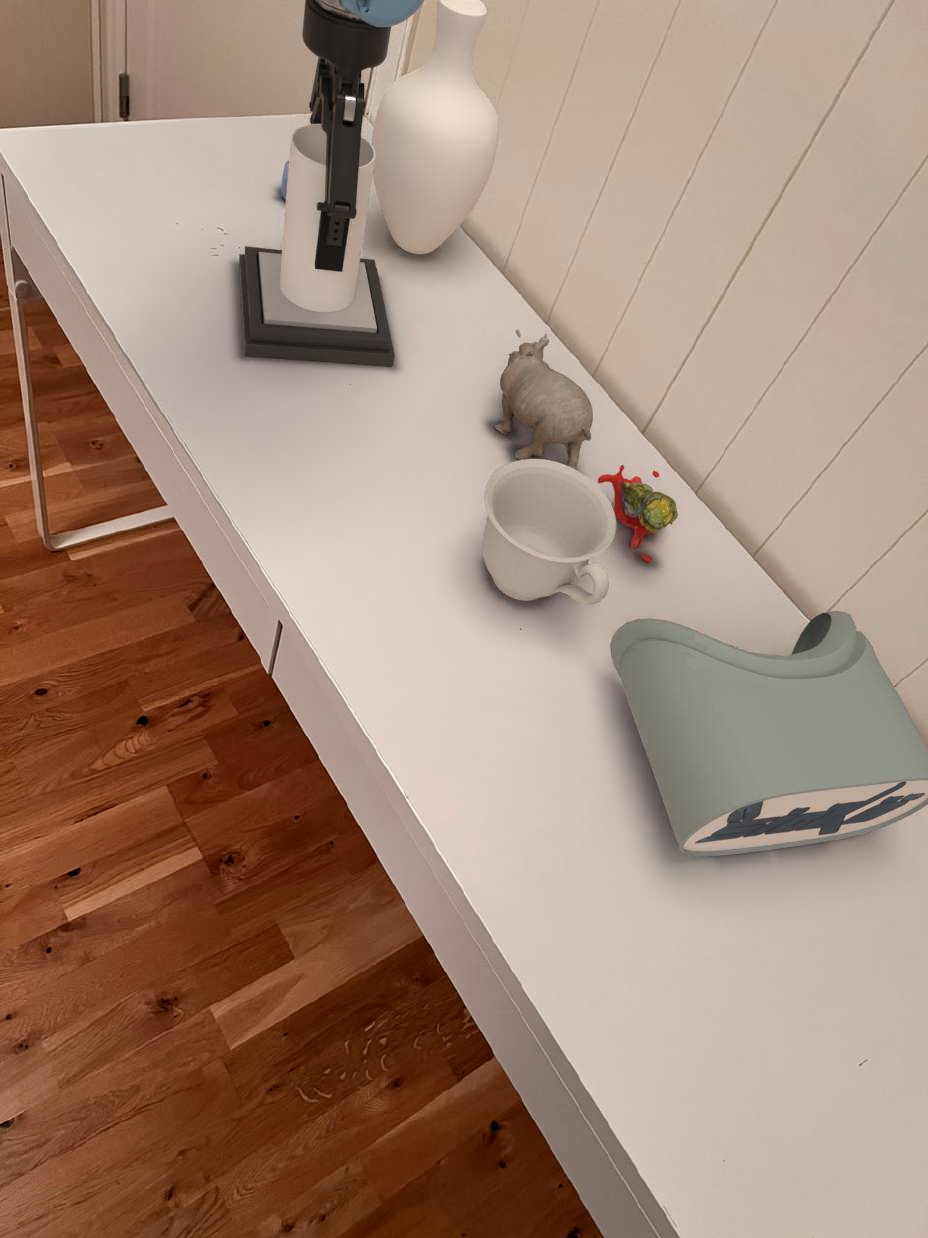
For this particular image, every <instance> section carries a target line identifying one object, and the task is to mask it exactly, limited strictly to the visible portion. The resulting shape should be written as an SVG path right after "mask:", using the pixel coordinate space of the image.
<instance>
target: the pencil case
mask: <svg viewBox="0 0 928 1238" xmlns="http://www.w3.org/2000/svg"><path fill="white" fill-rule="evenodd" d="M609 650H610V656H611V657H610V658H611V660H612V664H613V666H614V668H615V670H616V672H617V674H618V676H619V677H620V679H621V683H622V687H623V690H624V693H625V696H626V700H627V703H628V705H629V708H630V711H631V715H632V717H633V721H634V723H635V726H636V729H637V732H638V734H639V737H640V739H641V743H642V746H643V748H644V751H645V754H646V757H647V760H648V762H649V765H650V768H651V770H652V773H653V777H654V780H655V781H656V784H657V788H658V791H659V793H660V796H661V799H662V802H663V806H664V808H665V811H666V814H667V818H668V820H669V824H670V826H671V829H672V832H673V834H674V837H675V840H676V844H677V846H678V849H679V851H680V852H681V853H682V854H683V855H686V856H691V857H717V856H728V855H729V856H730V855H737V854H738V855H739V854H746V853H755V852H756V853H757V852H763V851H771V850H779V849H780V850H781V849H787V848H793V847H800V846H806V845H807V846H808V845H813V844H818V843H825V842H831V841H836V840H841V839H847V838H851V837H856V836H860V835H863V834H867V833H870V832H873V831H877V830H880V829H882V828H885V827H889V826H890V825H893V824H895V823H897V822H899V821H902V820H904V819H906V818H908V817H910V816H911V815H913V814H915V813H917V812H918V811H921V810H922V809H923V808H925V807H927V805H928V746H927V744H926V742H925V740H924V738H923V736H922V735H921V732H920V731H919V729H918V727H917V725H916V723H915V721H914V720H913V718H912V717H911V714H910V713H909V711H908V709H907V707H906V705H905V704H904V702H903V700H902V698H901V696H900V694H899V693H898V691H897V689H896V687H895V686H894V683H893V682H892V681H891V680H890V678H889V676H888V675H887V672H886V671H885V669H884V668H883V666H882V664H881V663H880V661H879V659H878V657H877V655H876V654H877V653H876V651H875V648H874V647H873V644H872V643H871V642H870V640H869V638H868V637H867V636H866V635H865V634H864V633H863V631H860V630H857V626H856V623H855V621H854V619H853V617H852V614H851V613H848V612H846V611H840V610H832V611H827V612H821V613H820V614H817V615H816V616H814V617H813V618H812V619H810V621H809V622H808V623H807V624H806V626H805V627H804V629H803V630H802V631H801V633H800V635H799V637H798V638H797V641H796V642H795V645H794V647H793V649H792V652H791V654H790V655H775V654H766V653H765V654H764V653H757V652H751V651H748V650H744V649H741V648H739V647H735V646H733V645H731V644H728V643H726V642H724V641H721V640H718V639H717V638H714V637H712V636H709V635H707V634H705V633H702V632H701V631H698V630H696V629H693V628H691V627H689V626H685V625H683V624H680V623H676V622H673V621H670V620H665V619H659V618H636V619H633V620H630V621H626V623H624V624H623V625H622V626H621V625H620V626H619V628H618V629H617V630H616V631H615V633H614V634H613V636H612V638H611V641H610V649H609Z"/></svg>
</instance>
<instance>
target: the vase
mask: <svg viewBox="0 0 928 1238" xmlns="http://www.w3.org/2000/svg"><path fill="white" fill-rule="evenodd" d="M436 4H437V5H436V31H435V39H434V43H433V48H432V51H431V53H430V56H429V57H428V59H427V61H426V62H425V63H424V64H423V65H422V66H420V67H419V68H417V69H415V70H413V71H411V72H408V73H406V74H404V75H402V76H400V77H398V78H397V79H395V80H393V81H392V82H391V83H390V84H389V86H388V87H387V88H386V90H385V91H384V92H383V94H382V97H381V99H380V101H379V104H378V108H377V110H376V114H375V119H374V125H373V129H372V137H371V145H372V146H373V148H374V150H375V154H376V157H375V165H374V172H373V183H374V189H375V192H376V197H377V199H378V202H379V205H380V208H381V211H382V213H383V216H384V219H385V222H386V225H387V227H388V230H389V233H390V235H391V237H392V239H393V241H394V242H395V244H396V245H397V246H398V247H399V248H400V249H402V250H403V251H405V252H408V253H410V254H414V255H426V254H429V253H430V254H431V252H433V251H435V250H436V249H438V248H439V247H440V246H441V245H442V244H443V243H445V241H446V240H447V239H448V238H449V237H450V236H451V235H452V234H453V233H454V232H455V231H456V230H457V229H458V228H459V227H460V226H461V225H462V223H463V222H464V221H466V219H467V218H468V217H469V216H470V214H471V213H472V211H473V210H474V208H475V207H476V205H477V203H478V201H479V199H480V198H481V196H482V194H483V193H484V190H485V189H486V186H487V184H488V181H489V179H490V177H491V175H492V171H493V167H494V165H495V164H494V163H495V159H496V154H497V148H498V141H499V124H500V123H499V119H498V114H497V111H496V108H495V106H494V104H493V103H492V101H491V100H490V99H489V97H488V96H487V95H486V93H485V92H484V91H483V90H482V89H481V88H480V87H479V85H478V84H477V81H476V80H475V77H474V72H473V58H474V53H475V49H476V44H477V42H478V39H479V37H480V35H481V32H482V29H483V27H484V24H485V21H486V19H487V14H488V9H487V7H486V5H485V3H484V2H483V1H481V0H437V3H436Z"/></svg>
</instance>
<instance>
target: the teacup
mask: <svg viewBox="0 0 928 1238" xmlns="http://www.w3.org/2000/svg"><path fill="white" fill-rule="evenodd" d="M483 494H484V506H485V510H486V513H487V517H486V522H485V527H484V531H483V537H482V557H483V560H484V564H485V566H486V568H487V571H488V572H489V574H490V575H491V579H492V580H493V583H494V585H495V586H496V588H498V590H499V591H501V592H502V593H503V594H505V596H508V597H510V598H511V599H514V600H518V601H523V602H529V601H530V602H531V601H534V600H537V599H540V598H544V597H551V596H553V595H555V594H556V593H564V594H566V595H568V596H569V597H570V598H571V599H572V600H574V601H575V602H576V603H578V604H581V605H584V606H593V605H595V604H598V603H600V602H601V601H602V600H604V599H605V598H606V596H607V594H608V592H609V589H610V578H609V577H610V576H609V575H608V572H607V570H606V569H605V567H603V566H602V565H601V564H600V563H599V562H590V563H589V560H591V559H594V558H596V557H598V556H599V555H601V554H602V553H604V552H605V551H606V550H607V549H608V548H609V547H610V546H611V544H612V543H613V541H614V539H615V536H616V532H617V518H616V517H615V513H614V506H613V505H612V503H611V501H610V499H609V498H608V496H607V495H606V493H605V492H604V491H603V490H602V488H600V486H599V485H598V484H597V483H596V482H594V481H593V480H592V479H591V478H590V477H588V476H587V475H585V474H584V473H582V472H580V471H579V470H577V469H573V468H571V467H569V466H567V464H563V463H561V462H558V461H555V460H554V461H553V460H550V459H543V458H531V459H526V460H519V459H518V460H515V461H511V462H508V463H506V464H504V465H502V466H501V467H499V468H497V469H496V470H495V471H494V472H493V473H492V474H491V476H489V478H488V480H487V483H486V484H485V489H484V493H483ZM586 575H588V576H589V577H590V578H591V581H592V583H593V592H591V593H590V592H588V591H587V590H585V589H584V588H582V586H578V585H577V584H575V583H574V584H573V583H572V582H573V581H574V580H575V579H576V578H577V577H584V576H586Z"/></svg>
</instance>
